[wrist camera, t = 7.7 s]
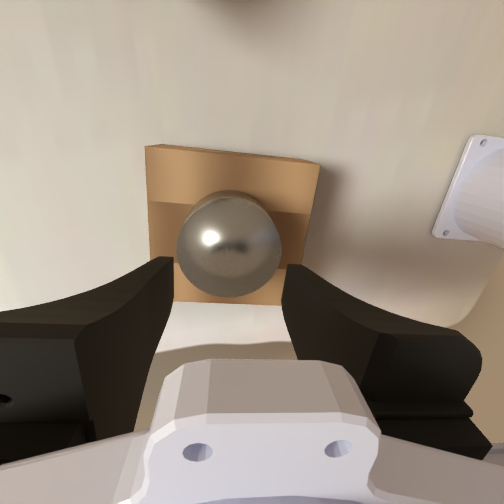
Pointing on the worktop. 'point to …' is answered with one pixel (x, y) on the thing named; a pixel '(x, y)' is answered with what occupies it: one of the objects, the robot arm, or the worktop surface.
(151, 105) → the worktop surface
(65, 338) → the robot arm
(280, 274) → the block
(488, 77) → the worktop surface
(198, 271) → the grey rounded piece
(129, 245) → the worktop surface
